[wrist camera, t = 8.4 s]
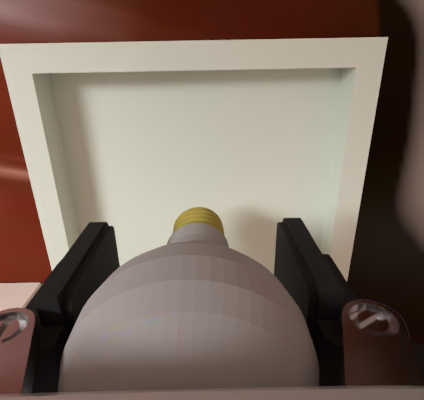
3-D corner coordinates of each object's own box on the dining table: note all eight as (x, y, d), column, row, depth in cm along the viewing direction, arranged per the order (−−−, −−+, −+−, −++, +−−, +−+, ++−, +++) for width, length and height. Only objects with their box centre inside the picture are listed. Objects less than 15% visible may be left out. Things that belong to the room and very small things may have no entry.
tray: (25, 46, 14) (-3, 44, 12) (363, 40, 14) (388, 37, 12) (82, 314, 19) (68, 342, 17) (325, 308, 19) (338, 335, 17)
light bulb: (280, 178, 13) (442, 434, 4) (242, 286, 15) (294, 620, 6) (146, 145, 13) (-7, 360, 4) (125, 262, 15) (-9, 591, 6)
